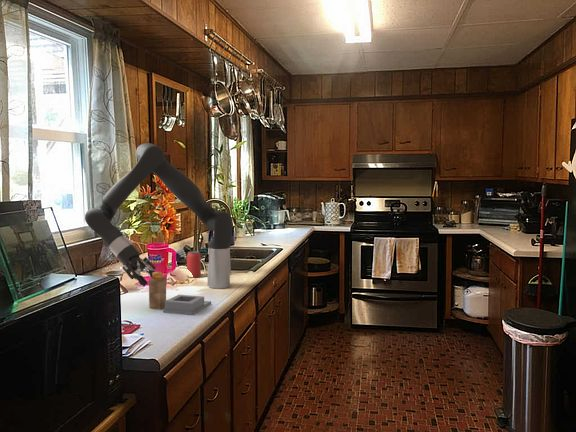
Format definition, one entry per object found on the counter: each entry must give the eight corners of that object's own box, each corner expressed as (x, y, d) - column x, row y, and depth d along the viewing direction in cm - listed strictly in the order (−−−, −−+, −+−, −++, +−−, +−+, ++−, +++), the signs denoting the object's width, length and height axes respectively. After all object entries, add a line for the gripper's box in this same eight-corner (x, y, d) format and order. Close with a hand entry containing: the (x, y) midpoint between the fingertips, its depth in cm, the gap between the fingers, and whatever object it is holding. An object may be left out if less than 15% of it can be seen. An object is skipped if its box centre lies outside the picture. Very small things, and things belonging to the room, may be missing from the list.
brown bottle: (149, 308, 190) (148, 273, 189) (155, 305, 194) (155, 271, 193) (160, 309, 189) (159, 274, 187) (166, 306, 193) (165, 272, 192)
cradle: (163, 312, 184) (162, 301, 184) (183, 301, 200) (183, 291, 199) (192, 315, 181) (192, 303, 181) (211, 303, 197) (211, 293, 196)
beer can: (185, 275, 248) (185, 251, 247) (199, 274, 251) (199, 250, 250) (188, 278, 242) (187, 253, 241) (202, 277, 245) (201, 252, 244)
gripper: (119, 246, 186) (148, 279, 183) (141, 241, 199) (167, 272, 197) (107, 260, 187) (135, 293, 185) (129, 254, 201) (155, 285, 199)
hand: (152, 282), depth 191 cm, fingers open, 8 cm apart
